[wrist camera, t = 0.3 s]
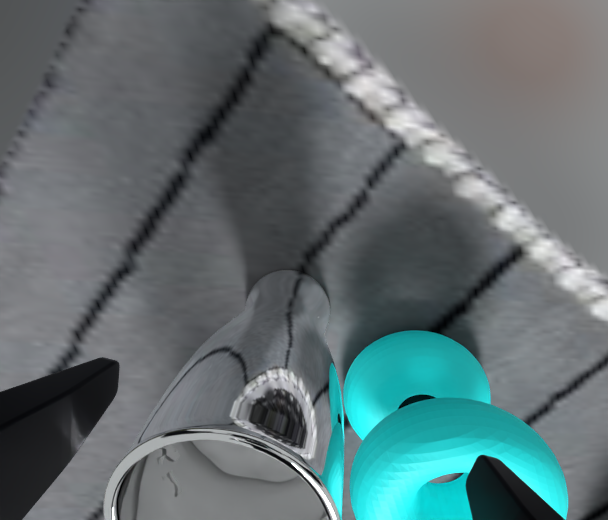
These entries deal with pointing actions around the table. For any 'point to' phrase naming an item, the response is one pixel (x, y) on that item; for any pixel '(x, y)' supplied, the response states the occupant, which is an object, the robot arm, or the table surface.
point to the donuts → (433, 431)
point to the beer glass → (245, 421)
